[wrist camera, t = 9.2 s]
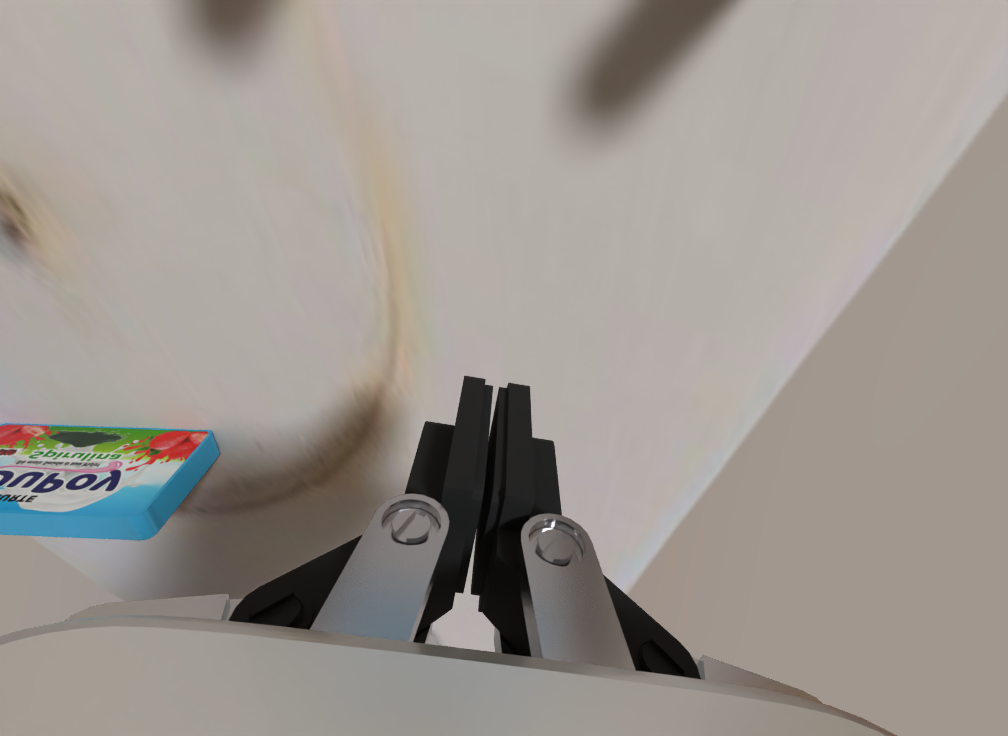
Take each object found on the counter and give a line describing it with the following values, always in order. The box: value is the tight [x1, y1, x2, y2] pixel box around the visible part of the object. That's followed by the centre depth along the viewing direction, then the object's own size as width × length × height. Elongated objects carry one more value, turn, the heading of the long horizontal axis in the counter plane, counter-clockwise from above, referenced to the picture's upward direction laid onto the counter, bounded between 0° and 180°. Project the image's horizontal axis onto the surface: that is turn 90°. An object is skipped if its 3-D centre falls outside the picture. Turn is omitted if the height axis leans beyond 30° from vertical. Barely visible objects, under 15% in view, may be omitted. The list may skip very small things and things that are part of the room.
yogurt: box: [0, 423, 220, 540], centre depth 24 cm, size 12×2×6 cm, turn 89°
